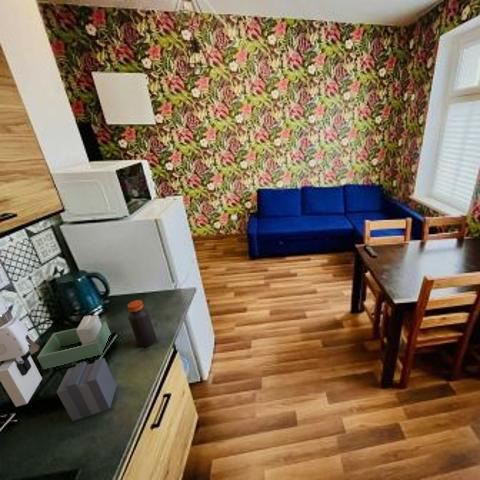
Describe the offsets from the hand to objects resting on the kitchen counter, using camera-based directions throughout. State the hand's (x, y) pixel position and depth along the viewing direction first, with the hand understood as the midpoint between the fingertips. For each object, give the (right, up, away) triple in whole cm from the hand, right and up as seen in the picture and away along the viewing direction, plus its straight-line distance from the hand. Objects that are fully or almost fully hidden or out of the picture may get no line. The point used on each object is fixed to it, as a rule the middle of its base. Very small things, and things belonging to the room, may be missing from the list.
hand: (19, 373), depth 75 cm
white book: (0, -7, +3) cm, 8 cm away
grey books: (+11, -16, +12) cm, 23 cm away
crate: (-11, -8, +32) cm, 35 cm away
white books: (-6, -6, +34) cm, 35 cm away
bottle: (+13, -6, +37) cm, 40 cm away
